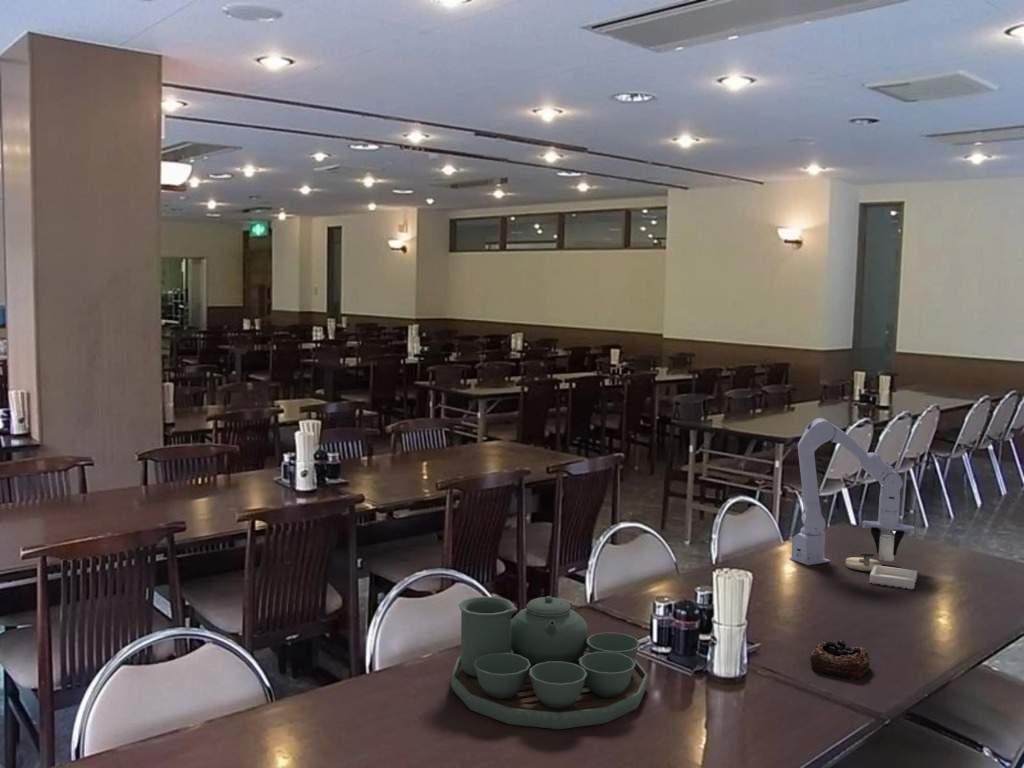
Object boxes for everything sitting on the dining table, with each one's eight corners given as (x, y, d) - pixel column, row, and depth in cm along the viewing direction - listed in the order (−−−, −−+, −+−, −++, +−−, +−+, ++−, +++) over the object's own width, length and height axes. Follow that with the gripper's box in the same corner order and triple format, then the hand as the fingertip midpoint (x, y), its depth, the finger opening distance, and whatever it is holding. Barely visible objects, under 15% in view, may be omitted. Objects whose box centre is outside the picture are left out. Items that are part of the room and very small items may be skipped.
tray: (869, 583, 262) (869, 574, 261) (874, 573, 272) (874, 564, 272) (913, 589, 256) (914, 581, 256) (916, 579, 267) (917, 570, 266)
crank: (842, 561, 283) (842, 544, 283) (875, 562, 282) (876, 546, 282) (849, 570, 273) (850, 553, 273) (884, 572, 272) (885, 554, 272)
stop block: (878, 559, 279) (879, 537, 279) (879, 556, 283) (881, 534, 282) (892, 561, 277) (893, 538, 277) (893, 558, 281) (895, 535, 280)
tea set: (499, 748, 162) (500, 657, 161) (426, 665, 198) (427, 591, 197) (687, 711, 178) (690, 628, 177) (588, 640, 215) (590, 571, 213)
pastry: (862, 683, 192) (864, 656, 192) (804, 671, 198) (805, 644, 198) (872, 666, 201) (874, 640, 201) (816, 655, 208) (817, 629, 207)
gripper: (915, 510, 279) (913, 553, 280) (865, 504, 286) (863, 547, 287) (914, 514, 273) (911, 559, 274) (862, 508, 279) (860, 552, 281)
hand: (886, 553), depth 280 cm, fingers closed on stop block, 4 cm apart
